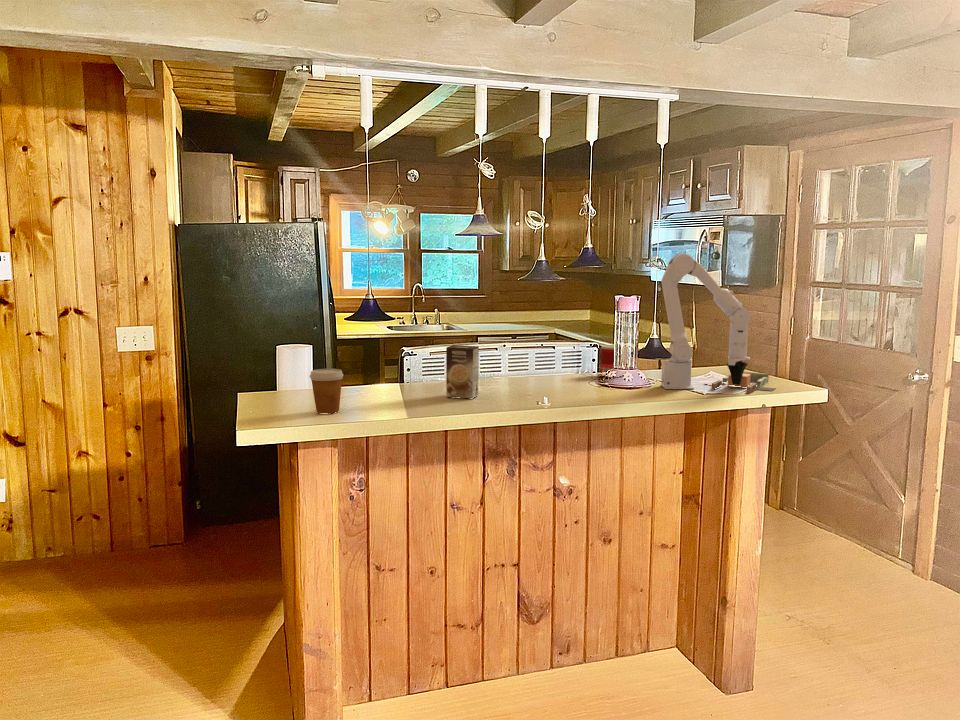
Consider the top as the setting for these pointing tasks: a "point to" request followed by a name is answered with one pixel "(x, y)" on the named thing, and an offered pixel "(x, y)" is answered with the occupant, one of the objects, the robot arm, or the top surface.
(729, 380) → the block
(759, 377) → the trap lane
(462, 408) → the top surface
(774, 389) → the trap pads
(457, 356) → the coffee box
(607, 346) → the canned food
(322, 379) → the disposable coffee cup
